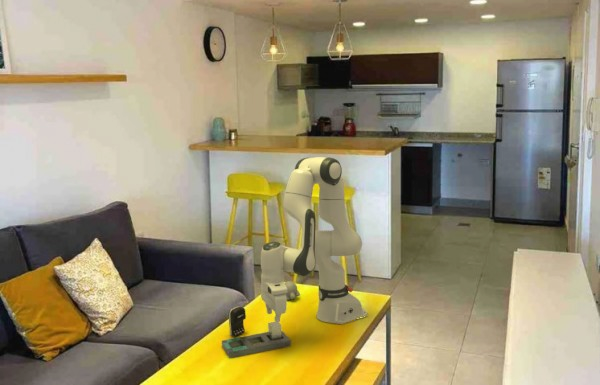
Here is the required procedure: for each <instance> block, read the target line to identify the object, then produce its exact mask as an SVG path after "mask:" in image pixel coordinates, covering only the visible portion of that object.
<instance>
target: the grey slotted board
mask: <svg viewBox="0 0 600 385" xmlns="http://www.w3.org/2000/svg"><path fill="white" fill-rule="evenodd" d="M281 336H282V339H278V340H273V341H271V340H270V339H269V331H267V332H261V333H256V334H251V335H244V336H238V337H237V336H236V337H232V338H227V339H224V340H221V347H222V349H223V350H224V352H225V355H227V357H228V358H229V359H232V358H238V357H239V358H240V357H243V356H247V355H254V354H258V353H259V354H260V353H263V352H267V351H268V352H269V351H272V350H278V349H283V348H287V347H291V344H292V343H291V342H292V340H291V339H290V338H289V336H288V335H287V334H286V333H285V332H284V331H283V330H282V329H281Z"/></svg>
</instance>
